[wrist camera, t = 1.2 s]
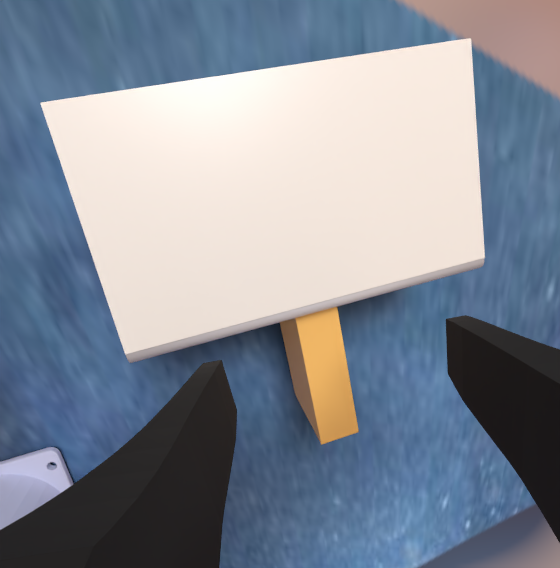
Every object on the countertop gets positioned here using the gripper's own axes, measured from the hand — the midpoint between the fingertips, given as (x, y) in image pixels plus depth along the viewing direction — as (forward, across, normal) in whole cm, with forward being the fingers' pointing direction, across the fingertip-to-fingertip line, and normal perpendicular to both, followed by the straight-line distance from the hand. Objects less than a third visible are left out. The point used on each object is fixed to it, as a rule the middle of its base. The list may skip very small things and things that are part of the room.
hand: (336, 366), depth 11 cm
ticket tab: (+10, +1, +1) cm, 10 cm away
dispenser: (+11, +2, -4) cm, 12 cm away
